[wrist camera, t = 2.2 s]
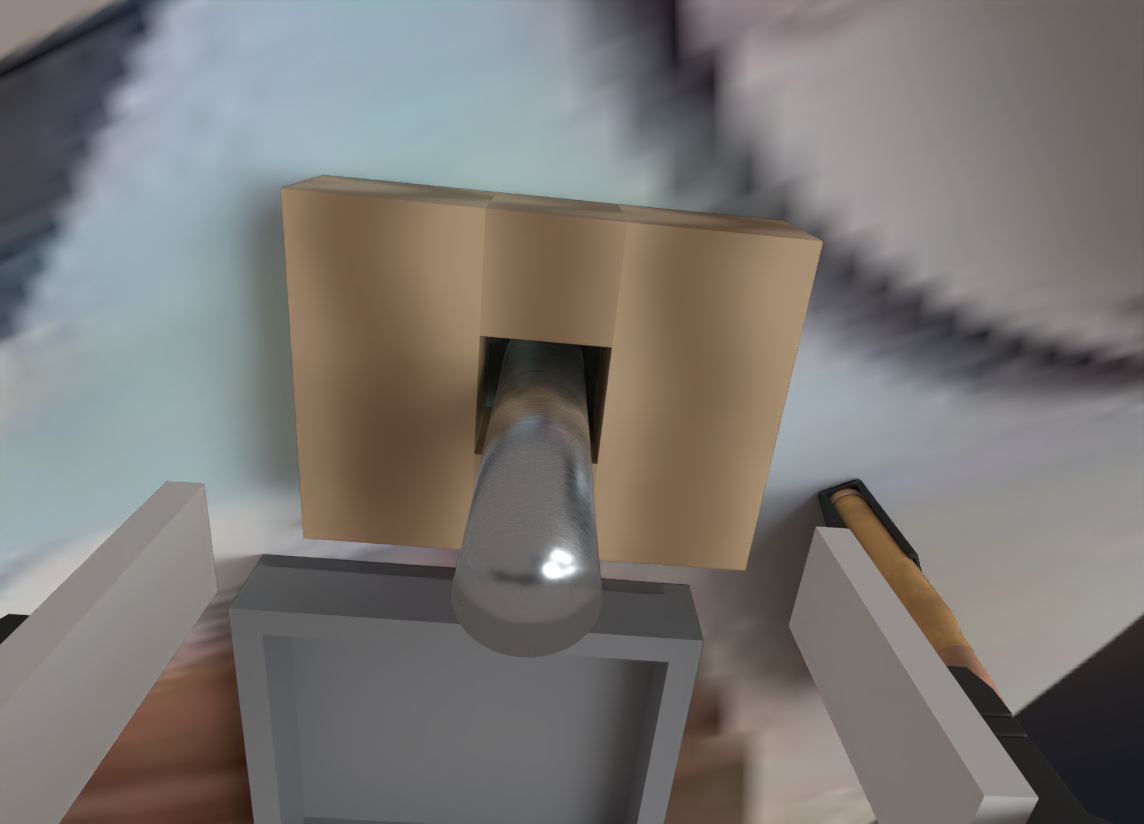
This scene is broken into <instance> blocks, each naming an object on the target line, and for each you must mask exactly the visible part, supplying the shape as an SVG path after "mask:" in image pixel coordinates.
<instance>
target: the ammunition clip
mask: <svg viewBox="0 0 1144 824" xmlns="http://www.w3.org/2000/svg"><path fill="white" fill-rule="evenodd" d="M818 500H819V503H820V506H821V510H822V513H823V516H824V519H825V523H826V526H827V527H831V528H845V529H850V530H851V532H852V533H853V534H854V536H855V537H856V539H857V540H858V542H859V543H860V544H861V546H862V547H863V549H864V550H865V551H866V553H867V554H868V556H869V557H870V559H871V560H872V561H873V563H874V564H875V566H876V567H877V569H878V570H879V571H880V573H881V574H882V576H883V577H884V579H885V580H886V581H887V583H888V584H889V586H890V587H891V588H892V590H893V591H894V593H895V594H896V596H897V597H898V598H899V600H900V601H901V603H902V604H903V606H904V607H905V608H906V610H907V611H908V613H909V614H910V616H911V617H912V618H913V620H914V621H915V623H916V624H917V625H918V627H919V628H920V630H921V631H922V633H923V634H924V635H925V637H926V638H927V640H928V641H929V643H930V644H931V645H932V647H933V648H934V650H935V651H936V653H937V654H938V655H939V657H940V658H941V660H942V661H943V662H944V664H945V665H946V666H956V667H967V668H968V669H969V670H971V671H972V672H973V673H974V674H976V675H977V676H978V677H979V678H980V679H982V680H983V681H984V682H985V683H987V684H988V685H989V686H990V687H991V688H993V689H994V691H995V692H996V693H997V695H998V696H999V697H1000V699H1001V696H1000V694H999V692H998V690H997V688H996V687H995V685H994V683H993V681H992V680H991V678H990V676H989V674H988V673H987V671H986V670H985V668H984V667H983V665H982V664H981V663H980V661H979V660H978V659H977V657H976V656H975V654H974V651H973V650H972V648H971V647H970V645H969V644H968V642H967V641H966V639H965V638H964V636H963V635H962V633H961V631H960V628H959V626H958V623H957V621H956V619H955V617H954V615H953V614H952V612H951V611H950V609H949V608H948V607H947V605H946V604H945V603H944V601H943V600H942V599H941V597H940V596H939V595H938V593H937V592H936V591H935V589H934V588H933V587H932V585H931V584H930V583H929V581H928V580H927V579H926V577H925V576H924V575H923V573H922V570H921V566H920V562H919V558H918V554H917V553H916V552H915V551H914V549H913V548H912V547H911V545H910V544H909V543H908V541H907V540H906V539H905V537H904V536H903V535H902V533H901V532H900V531H899V530H898V528H897V527H896V526H895V524H894V523H893V522H892V520H891V519H890V518H889V516H888V515H887V514H886V512H885V511H884V510H883V509H882V507H881V506H880V505H879V503H878V502H877V501H876V499H875V498H874V497H873V495H872V494H871V493H870V491H869V490H868V489H867V488H866V486H865V485H864V484H863V482H862V481H861V480H856V481H853V482H850V483H847V484H844V485H841V486H838V487H835V488H832V489H829V490H826V491H823V492H820V493H819V494H818ZM1001 700H1002V699H1001Z"/></svg>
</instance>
